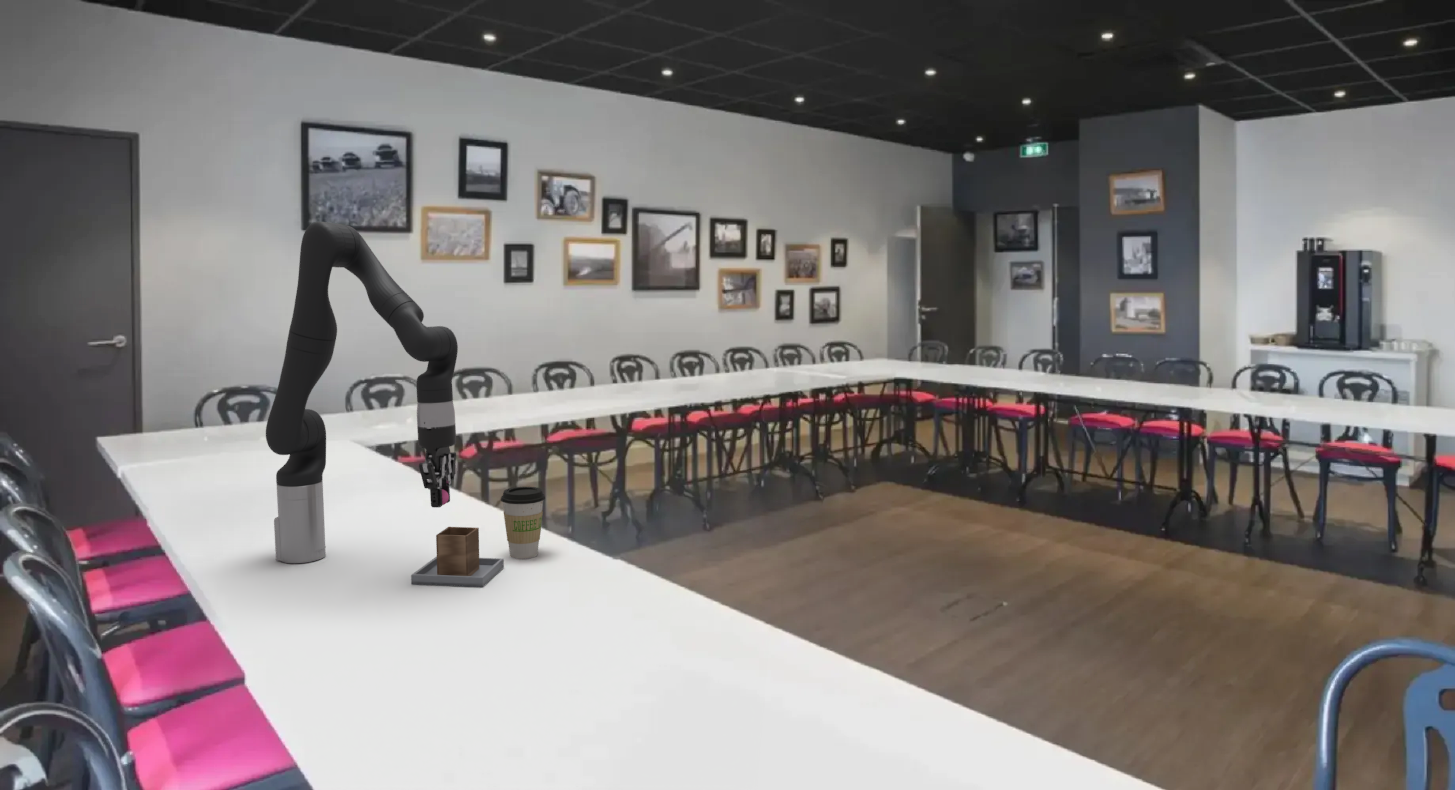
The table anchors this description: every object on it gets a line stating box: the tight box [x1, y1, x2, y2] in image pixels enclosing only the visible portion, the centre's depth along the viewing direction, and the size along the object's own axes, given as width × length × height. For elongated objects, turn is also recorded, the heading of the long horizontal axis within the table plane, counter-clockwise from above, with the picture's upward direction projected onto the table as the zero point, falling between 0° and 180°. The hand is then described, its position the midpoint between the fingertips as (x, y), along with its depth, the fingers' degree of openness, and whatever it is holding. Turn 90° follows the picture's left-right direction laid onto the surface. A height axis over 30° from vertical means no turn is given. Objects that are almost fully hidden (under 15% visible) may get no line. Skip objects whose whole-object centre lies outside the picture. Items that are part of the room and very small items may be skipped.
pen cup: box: [435, 526, 480, 576], centre depth 186 cm, size 7×7×9 cm
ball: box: [442, 489, 449, 506], centre depth 184 cm, size 3×3×3 cm
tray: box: [410, 555, 505, 588], centre depth 186 cm, size 15×13×2 cm
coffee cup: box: [500, 486, 546, 560], centre depth 201 cm, size 10×10×15 cm
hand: (440, 504), depth 184 cm, fingers closed on ball, 3 cm apart
